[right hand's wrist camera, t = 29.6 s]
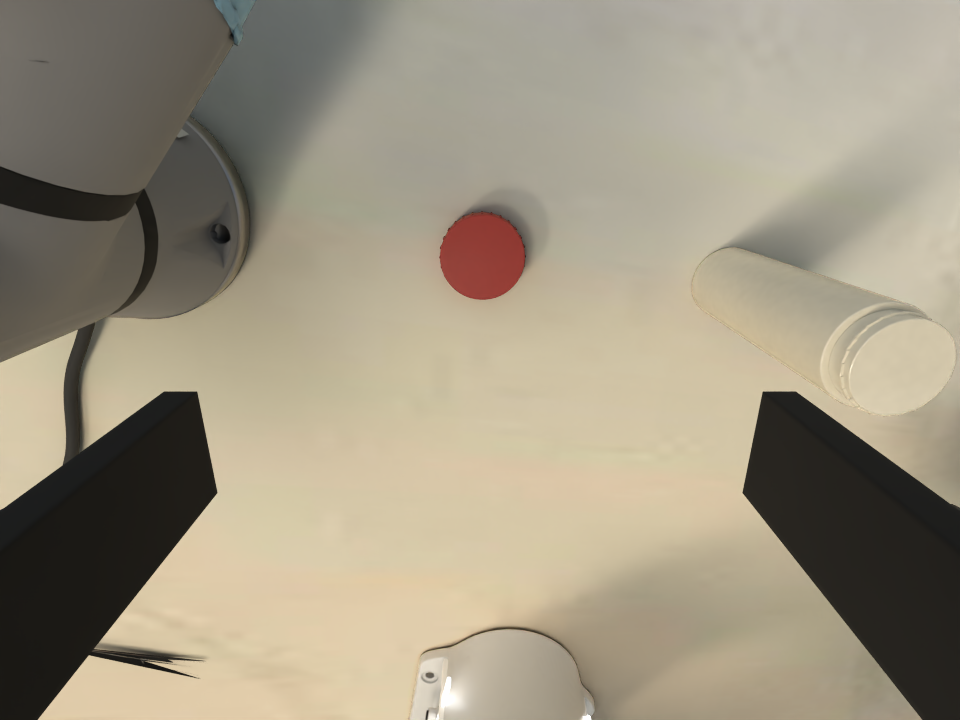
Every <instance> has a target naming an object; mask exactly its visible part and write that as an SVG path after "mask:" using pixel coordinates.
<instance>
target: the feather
mask: <svg viewBox="0 0 960 720" xmlns="http://www.w3.org/2000/svg"><path fill="white" fill-rule="evenodd" d="M89 655H91V656H95V657H100V658H105V659H109V660H114V661H119V662H123V663H128V664H133V665H137V666H142V667H147V668H151V669H156V670H161V671H166V672H170V673H175V674H180V675H184V676H189V677H193V676H190V675H187V674H183V673H180V671H179V672H177V671H175V670H171V669H168V668H164V667H161V666H158V665H155V664H152V663H148V662H145V661H149V660H157V661H164V662H172V661H170V660H184V661H185V660H189V661H193V662H194V661H202V660H192V659H183V658H173V657H164V656H154V655H145V654H135V653H126V652H116V651H107V650H97V649H93V650H92V652H91V653H90V654H89ZM168 659H169V660H168ZM149 662H155V661H149ZM157 663H162V662H157ZM172 663H173V662H172ZM166 664H169V663H166ZM174 665H175V664H174ZM184 673H185V672H184ZM189 674H190V673H189ZM194 678H196V677H194ZM198 679H199V678H198Z"/></svg>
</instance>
